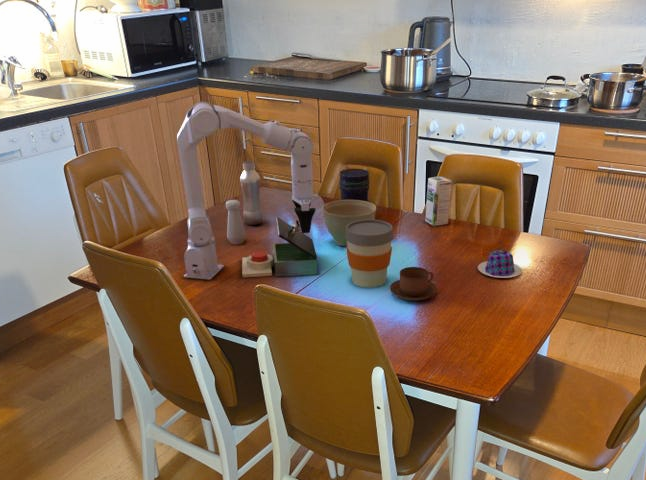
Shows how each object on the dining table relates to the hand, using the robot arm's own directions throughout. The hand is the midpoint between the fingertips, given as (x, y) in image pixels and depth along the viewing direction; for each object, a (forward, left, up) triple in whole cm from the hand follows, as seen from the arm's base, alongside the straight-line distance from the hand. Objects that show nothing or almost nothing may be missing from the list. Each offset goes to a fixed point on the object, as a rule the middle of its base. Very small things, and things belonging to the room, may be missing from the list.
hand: (304, 227), depth 180 cm
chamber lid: (-4, +1, -2) cm, 5 cm away
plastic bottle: (+26, +26, -10) cm, 39 cm away
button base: (-8, +12, -10) cm, 18 cm away
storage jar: (+40, -5, -10) cm, 42 cm away
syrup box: (+40, -33, -10) cm, 53 cm away
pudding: (+4, -55, -10) cm, 56 cm away
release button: (-8, +11, -7) cm, 15 cm away
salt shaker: (+9, +25, -10) cm, 29 cm away
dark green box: (-4, +2, -10) cm, 11 cm away
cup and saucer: (-16, -34, -10) cm, 38 cm away
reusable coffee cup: (-10, -21, -10) cm, 25 cm away
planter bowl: (+17, -9, -10) cm, 22 cm away
